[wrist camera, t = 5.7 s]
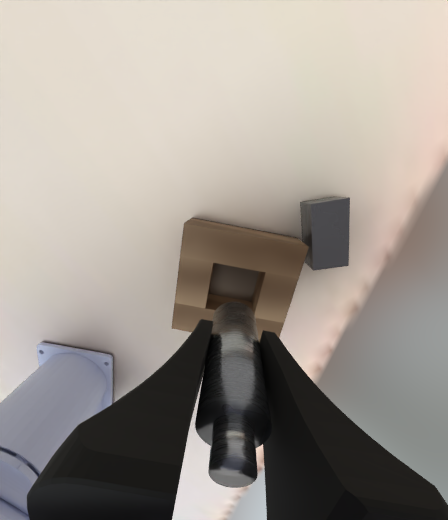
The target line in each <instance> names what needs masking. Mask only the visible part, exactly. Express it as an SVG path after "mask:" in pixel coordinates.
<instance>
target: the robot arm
mask: <svg viewBox="0 0 448 520" xmlns="http://www.w3.org/2000/svg"><path fill="white" fill-rule="evenodd" d="M212 327H213V321H210V320H204V319H201V320H199V322H198V324H197V326H196V328H195V329H194V331H193V332H192V333H191V335H190V336H189V337H188V339H187V340H186V341H185V342H184V344H183V345H182V346H181V347H180V348H179V349H178V350H177V351H176V353H175V354H174V355H173V356H172V357H171V358H170V359H169V360H168V361H167V362H166V363H165V364H164V365H163V366H162V367H160V368H159V369H158V370H157V371H156V372H155V373H154V374H152V375H151V376H150V377H149V378H148V379H146V380H145V381H144V382H143V383H141V384H140V385H139V386H137V387H136V388H135V389H133V390H132V391H130V392H129V393H128V394H126V395H125V396H123V397H122V398H121V399H119V400H118V401H116V402H115V403H113V404H112V395H113V357H112V356H111V355H110V354H105V353H100V352H94V351H89V350H83V349H77V348H72V347H66V346H61V345H55V344H50V343H44V342H41V343H39V344H38V345H37V353H38V360H39V368H38V369H37V370H36V371H35V372H34V373H32V374H31V375H30V376H29V377H28V378H27V379H26V380H25V381H24V382H23V383H22V384H20V385H19V386H18V387H17V388H16V389H15V390H14V391H13V392H12V393H11V394H9V395H8V396H7V397H6V398H5V399H4V400H3V401H2V402H1V403H0V520H172V516H173V511H174V505H175V500H176V495H177V489H178V484H179V479H180V474H181V468H182V463H183V458H184V452H185V447H186V442H187V437H188V431H189V427H190V422H191V418H192V414H193V411H194V407H195V403H196V399H197V396H198V392H199V388H200V384H201V381H202V377H203V373H204V368H205V362H206V357H207V352H208V348H209V343H210V338H211V333H212ZM259 345H260V352H261V358H262V365H263V371H264V378H265V385H266V391H267V398H268V404H269V411H270V417H271V424H272V431H271V435H270V436H269V438H268V439H267V441H266V442H265V443H263V449H264V465H265V484H266V506H267V520H448V505H447V503H446V502H445V500H444V499H443V497H442V496H441V494H440V493H439V492H438V490H437V488H436V487H435V486H434V485H432V484H431V483H430V482H428V481H427V480H426V479H424V478H423V477H422V476H420V475H419V474H417V473H416V472H415V471H413V470H412V469H410V468H409V467H408V466H407V465H405V464H404V463H403V462H401V461H400V460H398V459H397V458H396V457H395V456H393V455H392V454H391V453H389V452H388V451H387V450H385V449H384V448H383V447H382V446H381V445H380V444H378V443H377V442H376V441H375V440H373V439H372V438H371V437H370V436H368V434H366V433H365V432H364V431H363V430H362V429H360V428H359V427H358V426H357V425H356V424H355V423H354V422H353V421H351V420H350V419H349V418H348V417H347V416H346V415H345V414H344V413H343V412H342V411H341V410H340V409H339V408H337V407H336V406H335V405H334V404H333V403H332V402H331V401H330V400H329V399H328V397H326V395H325V394H324V393H323V392H322V391H321V390H320V389H319V388H318V387H317V386H316V385H315V384H314V383H313V381H312V380H311V379H310V378H309V377H308V376H307V374H306V373H305V372H304V371H303V370H302V368H301V367H300V366H299V365H298V363H297V362H296V361H295V359H294V358H293V357H292V356H291V354H290V353H289V352H288V350H287V349H286V347H285V346H284V345H283V343H282V342H281V341H280V339H279V338H278V336H277V335H276V334H275V332H270V331H264V330H263V332H262V335H261V339H260V342H259Z"/></svg>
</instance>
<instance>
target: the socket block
mask: <svg viewBox="0 0 448 520" xmlns="http://www.w3.org/2000/svg"><path fill="white" fill-rule="evenodd" d="M308 248H309V247H308V246H307V245H306V244H304V243H303V242H302V241H300V240H299V239H298V238H296V237H290V236H285V235H280V234H275V233H269V232H264V231H259V230H254V229H248V228H243V227H238V226H233V225H227V224H222V223H217V222H212V221H206V220H201V219H196V218H191V219H190V220H188V221H187V222H185V223H184V229H183V237H182V245H181V254H180V262H179V271H178V279H177V287H176V296H175V304H174V312H173V321H172V329H178V330H183V331H189V332H193V331H194V329H195V328H196V326H197V324H198V322H199V320H201V319H204V320H210V321H212V320H213V315H214V312H215V311H216V309H217V308H218V307H219V306H221V305H222V304H224V303H227V302H240V303H243V304H245V305H247V306H248V307H250V308H251V309H252V311H253V312H254V315H255V319H256V325H257V332H258V339H259V342H260V339H261V335H262V332H263V330H264V331H270V332H275V334H276V335H277V336H278V338H279V336H280V333H281V330H282V327H283V324H284V321H285V318H286V315H287V312H288V309H289V306H290V303H291V300H292V297H293V294H294V291H295V288H296V285H297V282H298V278H299V275H300V272H301V269H302V266H303V263H304V260H305V257H306V254H307V251H308Z"/></svg>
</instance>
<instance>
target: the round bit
mask: <svg viewBox="0 0 448 520" xmlns="http://www.w3.org/2000/svg"><path fill="white" fill-rule="evenodd" d="M212 321H213V327H212V333H211V338H210V343H209V348H208V352H207V357H206V362H205V368H204V374H203V380H202V386H201V392H200V398H199V404H198V410H197V416H196V422H195V427H196V431H197V433H198V435H199V436H200V437H201V439H202V440H203V441H205V442H206V443H207V444H209V445H211V450H210V461H209V476H210V477H211V479H212V480H213V481H215V482H216V483H218V484H220V485H222V486H226V487H232V488H238V487H244V486H248V485H250V484H252V483H253V482H254V481H255V480H256V478H257V461H256V448H257V447H259V446H261V445H262V444H263V443H265V442H266V441H267V439H268V438H269V436H270V435H271V431H272V424H271V417H270V411H269V404H268V398H267V391H266V385H265V378H264V371H263V365H262V358H261V352H260V345H259V339H258V332H257V325H256V319H255V315H254V312H253V311H252V309H251V308H250V307H248V306H247V305H245V304H243V303H240V302H227V303H224V304H222V305H221V306H219V307H218V308H217V309H216V311H215V312H214V315H213V320H212Z"/></svg>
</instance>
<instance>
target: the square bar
mask: <svg viewBox="0 0 448 520" xmlns="http://www.w3.org/2000/svg"><path fill="white" fill-rule="evenodd" d="M300 206H301V226H302V242H303V243H304V244H306V245H307V246H308V247H309V248H308V251H307V254H306V257H305V260H304V262H305V263H306V264H307V265H308V266H309V267H310V268H311V269H312V270H320V269H327V268H335V267H342V266H348V260H349V208H350V198H346V197H329V198H323V199H317V200H311V201H305V202H300Z"/></svg>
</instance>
